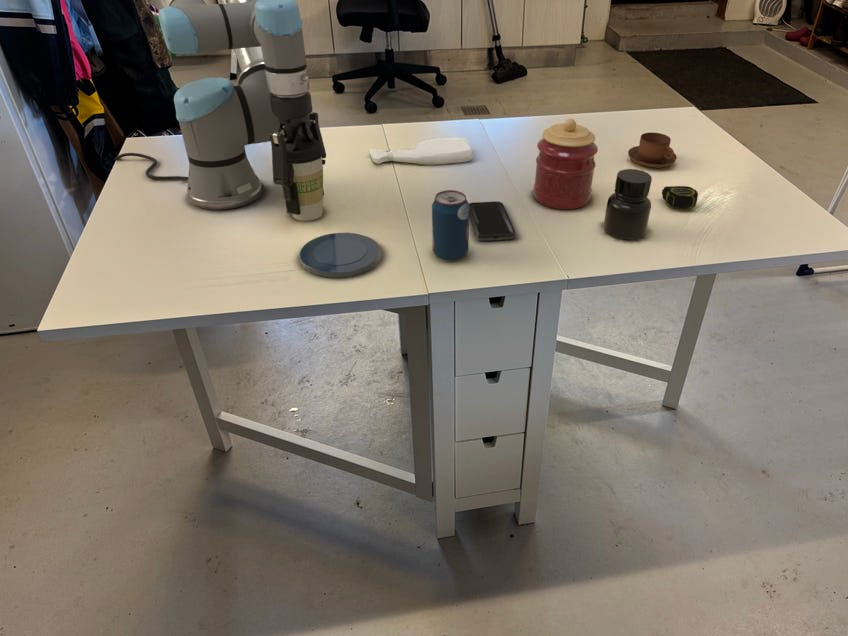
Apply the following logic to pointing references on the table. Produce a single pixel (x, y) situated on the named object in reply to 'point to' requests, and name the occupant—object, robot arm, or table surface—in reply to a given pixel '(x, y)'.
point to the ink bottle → (629, 205)
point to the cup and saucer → (653, 151)
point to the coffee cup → (308, 178)
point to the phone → (490, 221)
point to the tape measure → (680, 196)
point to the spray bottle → (429, 152)
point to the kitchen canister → (565, 166)
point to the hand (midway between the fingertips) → (306, 203)
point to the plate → (340, 255)
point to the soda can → (450, 225)
